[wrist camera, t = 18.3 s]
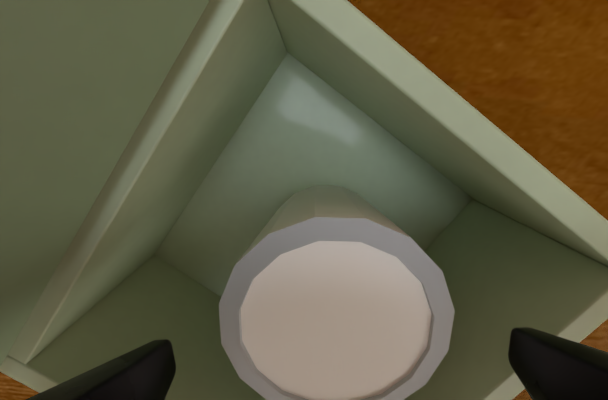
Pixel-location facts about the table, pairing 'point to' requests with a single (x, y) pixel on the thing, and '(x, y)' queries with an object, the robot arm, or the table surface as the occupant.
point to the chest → (301, 175)
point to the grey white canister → (335, 304)
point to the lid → (69, 122)
